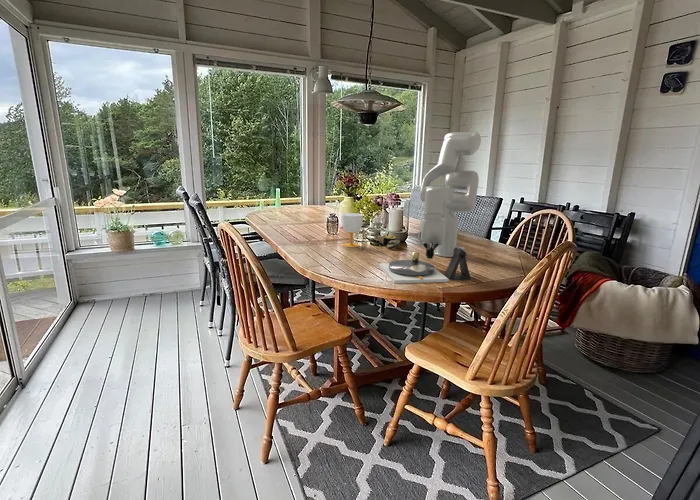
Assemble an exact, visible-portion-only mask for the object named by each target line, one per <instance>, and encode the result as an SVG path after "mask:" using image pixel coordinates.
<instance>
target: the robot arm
mask: <svg viewBox="0 0 700 500" xmlns="http://www.w3.org/2000/svg"><path fill="white" fill-rule="evenodd" d="M481 143H482V138H481V134H480V133H479V132H476V131H474V132H473V131H469V132H468V131H465V132H464V131H463V132H462V131H461V132H460V131H456V132H455V131H453V132H449V133H446V134H445V135H444V137H443V142H442V144H441V149H440V152H439V156H438V160H437V164H436V165H434V167H433V168H431V169H429V171H428V172H426V174H424V175H425V176H424V177H423V179H422V183H421V186H420V189H419V199H420V201H422V202H423V203H424V208H423V209H424V210H423V211H424V212H423V218H422V219H421V221H420V226H419V230H418V238H417V239H418V245H419V246H422V247H424V248H425V249H426V250H425V256H426V258H427V259H428V260H430V259H431V260H433V258H434V256H438V257H445V258H452V257H453V254H454V249H455V248H458V249H459V248H460V249H462V250H463V251H465V252H466V248H465V246H464V247H463V246H462V247H461V246H458V245H457V241H458V239H457V238H458V227H459V218H458V216H457V215H456V213H457V212H458V213H472V212H473V211H474V210H475V206H476V203H477V202H476V201H477V196H478V191H479V190H478V188H479V182H480V177H479V174H478V172H477V171H474V170H465V169H466V168H465V167H466V163H467V161H466V159H465V157H464V156H473V155H474V154H475V153H476V152H477V150H479V148H480V145H481ZM441 177H445V178H444V186H439V185H431V184H432V183H433V182H434V181H435V180H437V179H439V178H441ZM455 190H457V191H455ZM462 191H466V192H462ZM455 212H456V213H455ZM460 249H459V250H460Z"/></svg>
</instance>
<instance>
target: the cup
mask: <svg viewBox="0 0 700 500" xmlns="http://www.w3.org/2000/svg"><path fill="white" fill-rule="evenodd" d="M340 216H341V218H340V219H341V220H340V221H341V222H340V223H341V227H342V229H343V231H344V232H346V233H348V234H349V235H350V242H349V243H343V245H342V246H343V247H345V248H346V247H347V248H359V247H360V244H358V243H353V235H354V234H357V233H359V232H360V231H361V228H362V226H363V220H364V214H362V213H358V212H357V213H356V212H343V213H341V215H340Z"/></svg>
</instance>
